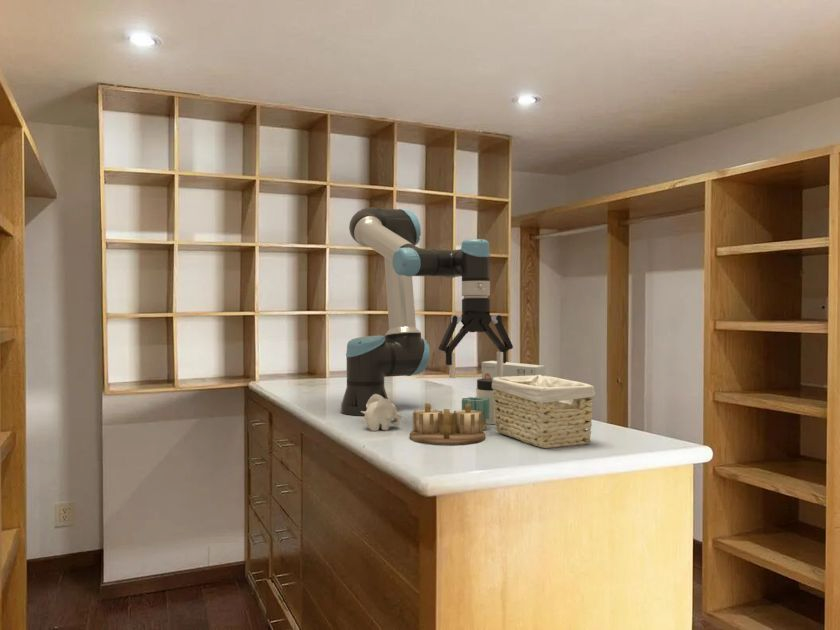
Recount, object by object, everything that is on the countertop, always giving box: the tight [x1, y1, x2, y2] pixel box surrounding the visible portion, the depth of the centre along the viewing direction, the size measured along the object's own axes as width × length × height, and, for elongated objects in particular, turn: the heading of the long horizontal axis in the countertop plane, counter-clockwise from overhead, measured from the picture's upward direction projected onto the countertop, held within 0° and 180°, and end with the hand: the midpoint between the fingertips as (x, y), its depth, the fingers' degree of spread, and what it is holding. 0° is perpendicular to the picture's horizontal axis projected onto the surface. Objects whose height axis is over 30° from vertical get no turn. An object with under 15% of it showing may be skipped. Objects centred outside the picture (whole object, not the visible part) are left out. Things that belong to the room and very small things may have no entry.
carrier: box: [409, 403, 486, 446], centre depth 174 cm, size 19×19×8 cm
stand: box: [483, 419, 487, 431], centre depth 186 cm, size 6×6×3 cm
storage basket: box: [492, 375, 596, 449], centre depth 172 cm, size 24×16×15 cm
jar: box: [475, 378, 496, 425], centre depth 197 cm, size 9×8×12 cm
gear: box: [461, 396, 489, 419], centre depth 186 cm, size 8×8×5 cm
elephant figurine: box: [361, 394, 407, 432], centre depth 186 cm, size 10×12×9 cm
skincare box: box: [481, 360, 546, 379], centre depth 207 cm, size 21×6×16 cm, turn 43°
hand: (476, 376), depth 185 cm, fingers open, 13 cm apart
